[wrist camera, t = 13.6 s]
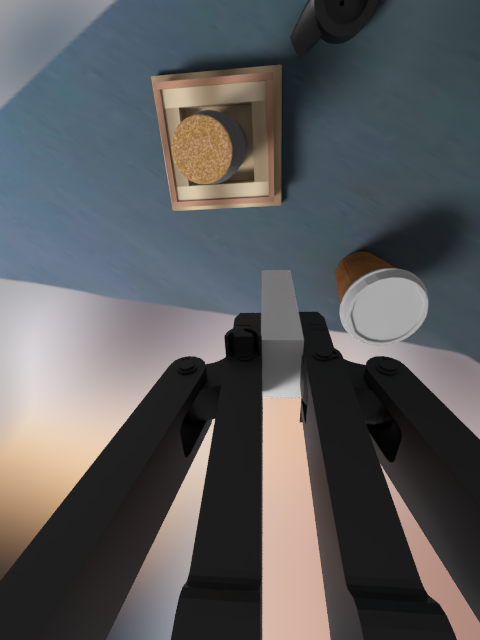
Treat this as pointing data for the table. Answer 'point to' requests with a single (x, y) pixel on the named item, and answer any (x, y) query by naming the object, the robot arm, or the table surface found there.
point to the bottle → (208, 147)
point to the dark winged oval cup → (330, 22)
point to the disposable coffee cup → (379, 299)
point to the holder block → (248, 111)
